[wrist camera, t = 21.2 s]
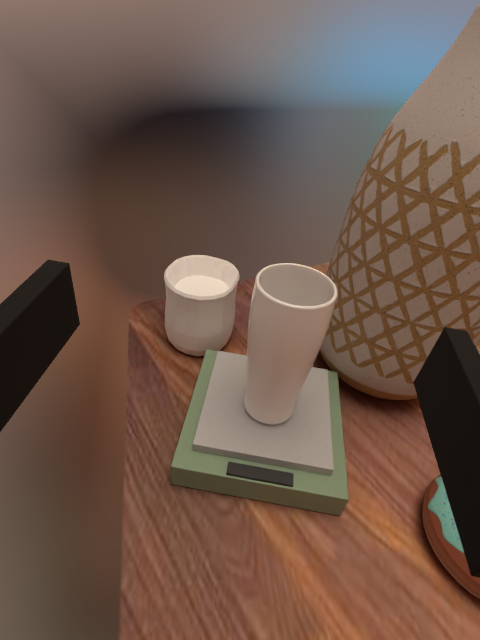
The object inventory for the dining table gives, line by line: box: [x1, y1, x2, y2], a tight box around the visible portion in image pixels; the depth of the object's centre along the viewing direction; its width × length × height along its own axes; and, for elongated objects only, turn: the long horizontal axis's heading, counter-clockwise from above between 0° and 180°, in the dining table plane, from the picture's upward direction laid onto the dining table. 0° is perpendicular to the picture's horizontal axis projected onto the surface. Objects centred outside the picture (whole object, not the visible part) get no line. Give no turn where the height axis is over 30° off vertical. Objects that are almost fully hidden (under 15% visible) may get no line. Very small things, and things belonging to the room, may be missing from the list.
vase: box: [320, 4, 480, 400], centre depth 42 cm, size 19×18×38 cm
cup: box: [164, 255, 239, 356], centre depth 51 cm, size 10×10×10 cm
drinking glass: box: [243, 263, 338, 425], centre depth 36 cm, size 7×7×15 cm
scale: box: [171, 349, 349, 516], centre depth 42 cm, size 16×16×4 cm
